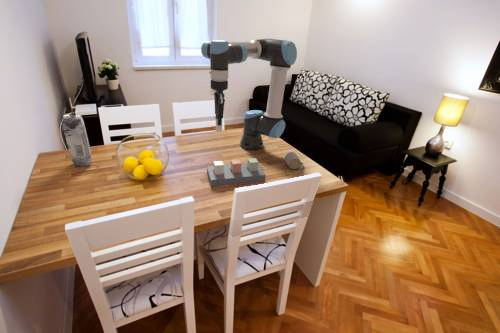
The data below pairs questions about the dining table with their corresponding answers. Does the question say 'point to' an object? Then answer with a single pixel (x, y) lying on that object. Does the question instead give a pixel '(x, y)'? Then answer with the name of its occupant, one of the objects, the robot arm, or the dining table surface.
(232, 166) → the key terracotta
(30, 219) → the dining table surface
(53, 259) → the dining table surface
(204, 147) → the dining table surface
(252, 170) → the key sage
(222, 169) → the key cream
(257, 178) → the console
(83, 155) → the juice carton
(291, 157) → the ceramic mug
